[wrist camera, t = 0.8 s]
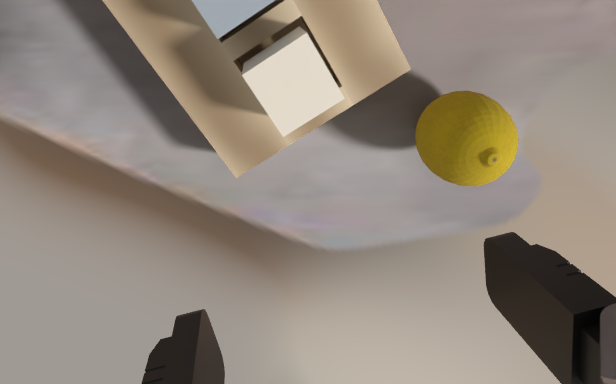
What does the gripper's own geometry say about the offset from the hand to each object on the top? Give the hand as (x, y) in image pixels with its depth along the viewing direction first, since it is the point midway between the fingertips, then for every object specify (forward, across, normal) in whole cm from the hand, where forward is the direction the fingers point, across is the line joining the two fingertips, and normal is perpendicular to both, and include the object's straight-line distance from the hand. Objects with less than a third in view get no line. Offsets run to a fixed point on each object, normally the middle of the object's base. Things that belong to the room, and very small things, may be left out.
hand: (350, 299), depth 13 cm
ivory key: (+15, -1, -4) cm, 16 cm away
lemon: (+19, -10, +2) cm, 22 cm away
